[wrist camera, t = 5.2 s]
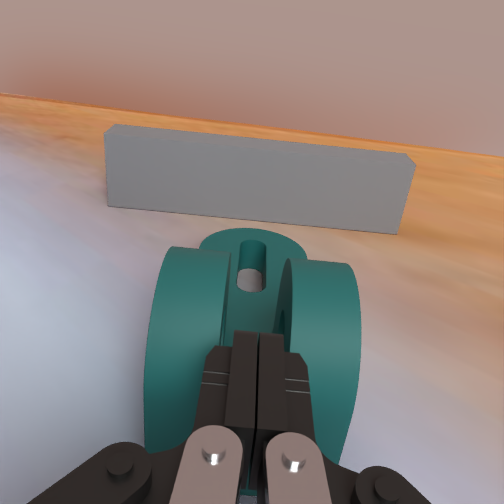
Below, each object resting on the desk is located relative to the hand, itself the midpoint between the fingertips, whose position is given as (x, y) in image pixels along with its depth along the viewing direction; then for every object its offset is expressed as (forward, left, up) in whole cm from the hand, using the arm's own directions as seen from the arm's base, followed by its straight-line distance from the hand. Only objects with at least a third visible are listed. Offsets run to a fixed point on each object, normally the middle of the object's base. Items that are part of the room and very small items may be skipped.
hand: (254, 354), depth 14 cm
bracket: (0, +9, -7) cm, 11 cm away
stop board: (0, +25, -7) cm, 26 cm away
